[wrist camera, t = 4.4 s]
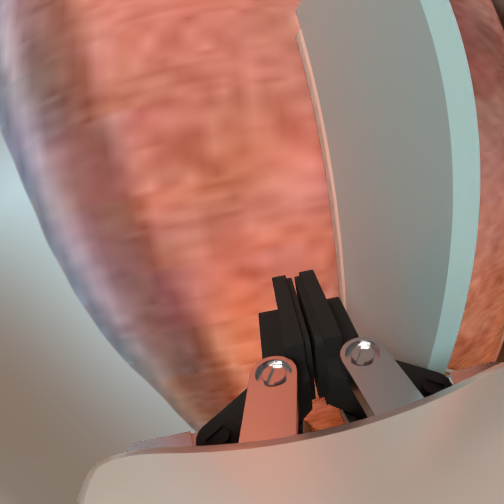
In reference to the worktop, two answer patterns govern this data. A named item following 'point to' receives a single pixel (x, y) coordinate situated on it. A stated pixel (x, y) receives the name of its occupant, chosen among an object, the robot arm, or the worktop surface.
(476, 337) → the worktop surface
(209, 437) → the robot arm
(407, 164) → the cover
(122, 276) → the worktop surface
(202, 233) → the worktop surface
